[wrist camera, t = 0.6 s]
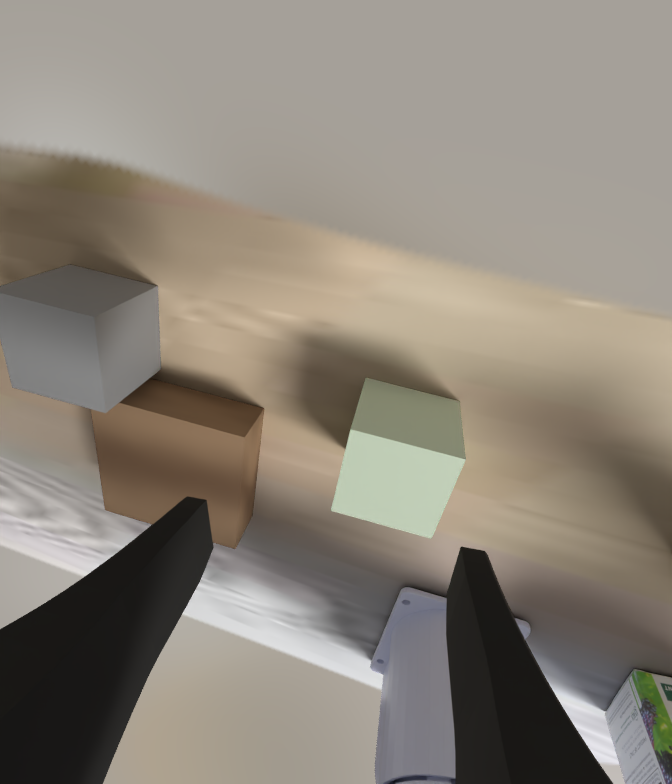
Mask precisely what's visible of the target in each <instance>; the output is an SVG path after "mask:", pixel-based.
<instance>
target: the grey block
mask: <svg viewBox="0 0 672 784" xmlns="http://www.w3.org/2000/svg"><path fill="white" fill-rule="evenodd" d="M0 340H1V344H2V348H3V352H4V356H5V360H6V364H7V368H8V372H9V376H10V380H11V384H12V388H16V389H20V390H23V391H27V392H31V393H34V394H38V395H41V396H45V397H49V398H52V399H56V400H60V401H63V402H67V403H71V404H74V405H78V406H81V407H85V408H89V409H92V410H96V411H100V412H103V413H107V412H108V411H109V410H110V409H112V408H113V407H114V406H115V405H117V404H118V403H119V402H120V401H122V400H123V399H124V398H125V397H127V396H128V395H129V394H130V393H132V392H133V391H134V390H135V389H137V388H138V387H139V386H140V385H142V384H143V383H144V382H145V381H147V380H148V379H149V378H150V377H152V376H153V375H154V374H156V373H157V372H158V371H159V370H161V357H160V331H159V304H158V286H156V285H152V284H148V283H144V282H140V281H136V280H132V279H127V278H123V277H119V276H115V275H111V274H107V273H103V272H99V271H95V270H91V269H87V268H83V267H79V266H75V265H71V264H70V265H67V266H63V267H60V268H57V269H54V270H50V271H47V272H44V273H41V274H38V275H34V276H31V277H28V278H25V279H21V280H18V281H15V282H12V283H9V284H5V285H2V286H0Z"/></svg>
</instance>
